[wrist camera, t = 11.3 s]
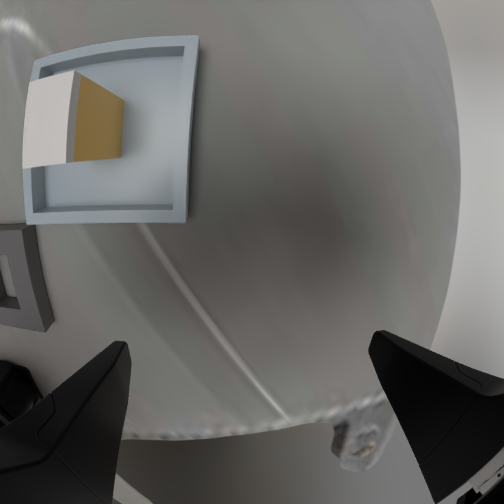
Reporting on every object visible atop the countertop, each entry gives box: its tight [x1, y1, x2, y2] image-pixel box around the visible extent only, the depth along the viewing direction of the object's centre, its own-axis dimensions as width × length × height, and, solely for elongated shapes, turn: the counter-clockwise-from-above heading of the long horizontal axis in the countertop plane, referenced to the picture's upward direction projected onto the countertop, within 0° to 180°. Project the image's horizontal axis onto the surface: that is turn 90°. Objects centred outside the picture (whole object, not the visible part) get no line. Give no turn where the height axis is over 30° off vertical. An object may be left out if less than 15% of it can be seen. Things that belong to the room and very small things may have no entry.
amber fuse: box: [23, 70, 125, 169], centre depth 12 cm, size 4×2×8 cm, turn 176°
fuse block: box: [0, 223, 54, 332], centre depth 17 cm, size 9×8×2 cm
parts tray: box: [23, 36, 200, 225], centre depth 15 cm, size 12×12×2 cm
